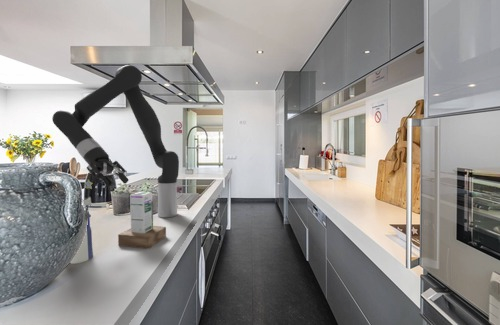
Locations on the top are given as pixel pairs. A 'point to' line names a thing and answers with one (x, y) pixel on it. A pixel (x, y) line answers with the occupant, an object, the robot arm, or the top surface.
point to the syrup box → (141, 212)
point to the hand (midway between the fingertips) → (119, 183)
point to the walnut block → (142, 237)
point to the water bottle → (86, 247)
